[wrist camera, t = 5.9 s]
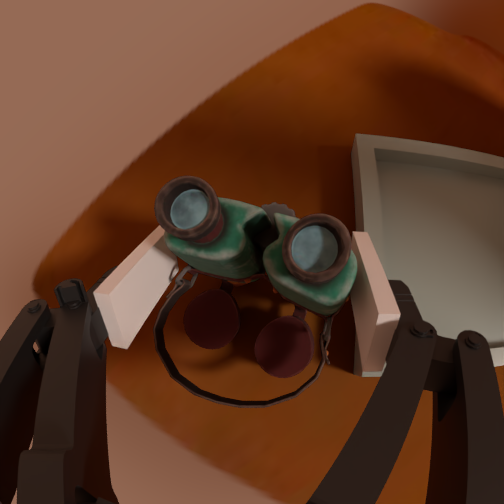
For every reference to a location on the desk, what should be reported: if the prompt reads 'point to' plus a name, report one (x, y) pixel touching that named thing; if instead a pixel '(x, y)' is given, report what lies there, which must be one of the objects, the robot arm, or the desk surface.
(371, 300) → the robot arm
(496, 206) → the tray
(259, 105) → the desk surface
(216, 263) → the binoculars
